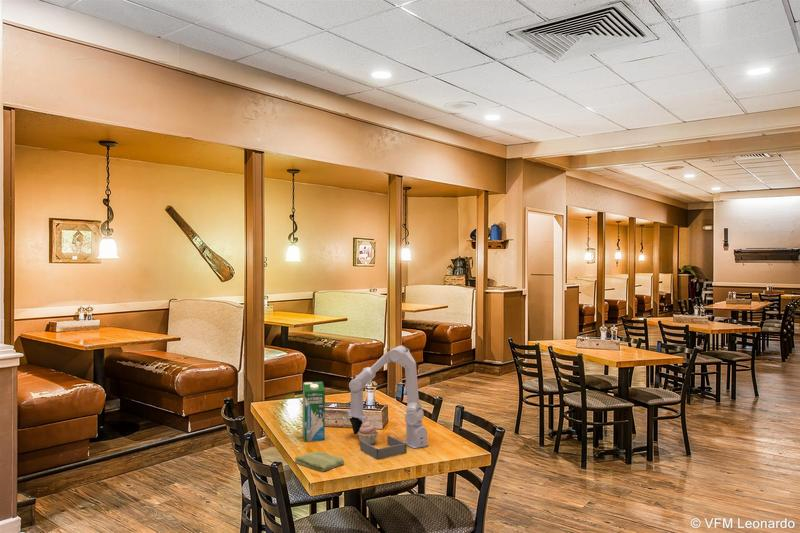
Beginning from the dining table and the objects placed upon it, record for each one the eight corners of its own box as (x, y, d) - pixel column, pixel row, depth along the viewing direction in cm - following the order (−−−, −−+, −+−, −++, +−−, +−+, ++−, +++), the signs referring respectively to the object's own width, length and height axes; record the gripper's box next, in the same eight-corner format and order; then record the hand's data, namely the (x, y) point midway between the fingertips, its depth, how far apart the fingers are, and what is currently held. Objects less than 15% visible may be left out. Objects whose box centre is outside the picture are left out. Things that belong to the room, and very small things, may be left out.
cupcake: (382, 443, 254) (382, 421, 254) (365, 448, 248) (366, 425, 248) (369, 438, 261) (369, 417, 261) (353, 443, 255) (353, 420, 255)
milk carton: (304, 441, 256) (304, 386, 255) (302, 435, 264) (302, 382, 264) (324, 440, 258) (325, 385, 258) (321, 434, 267) (322, 381, 266)
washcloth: (316, 455, 240) (316, 447, 239) (346, 465, 228) (346, 457, 228) (292, 463, 229) (292, 455, 229) (322, 474, 218) (322, 466, 218)
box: (406, 453, 242) (406, 443, 242) (377, 459, 234) (377, 449, 234) (388, 444, 253) (388, 435, 253) (360, 450, 245) (360, 440, 245)
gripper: (341, 402, 266) (341, 431, 266) (357, 409, 254) (356, 439, 254) (354, 400, 270) (354, 428, 270) (370, 406, 258) (370, 436, 258)
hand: (356, 433), depth 262 cm, fingers closed
